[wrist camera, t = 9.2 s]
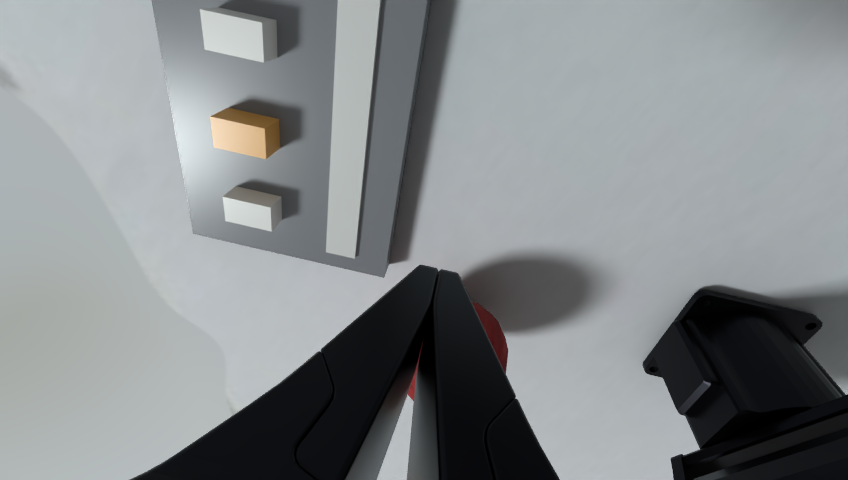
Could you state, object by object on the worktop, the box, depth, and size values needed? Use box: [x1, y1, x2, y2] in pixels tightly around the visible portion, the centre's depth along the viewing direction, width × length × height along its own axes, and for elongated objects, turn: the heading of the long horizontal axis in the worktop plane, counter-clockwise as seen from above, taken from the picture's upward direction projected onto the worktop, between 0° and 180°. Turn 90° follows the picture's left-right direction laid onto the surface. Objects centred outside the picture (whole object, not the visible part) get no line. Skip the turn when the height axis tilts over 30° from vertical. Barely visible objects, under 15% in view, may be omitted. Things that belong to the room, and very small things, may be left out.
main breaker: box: [210, 108, 280, 159], centre depth 18 cm, size 2×1×1 cm, turn 79°
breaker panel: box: [152, 0, 431, 278], centre depth 17 cm, size 11×18×2 cm, turn 169°
